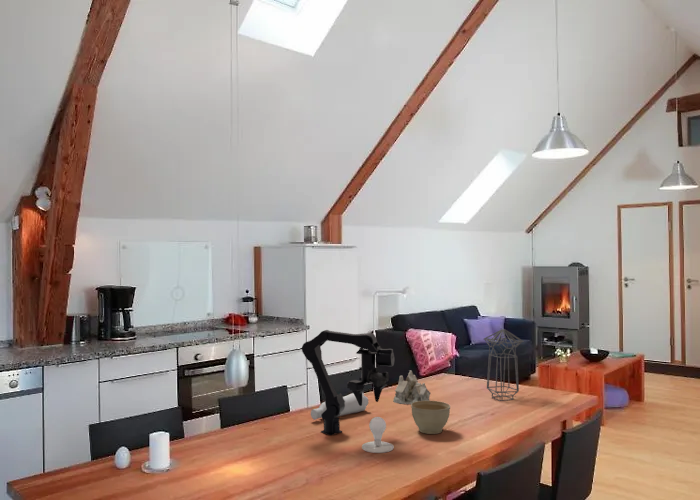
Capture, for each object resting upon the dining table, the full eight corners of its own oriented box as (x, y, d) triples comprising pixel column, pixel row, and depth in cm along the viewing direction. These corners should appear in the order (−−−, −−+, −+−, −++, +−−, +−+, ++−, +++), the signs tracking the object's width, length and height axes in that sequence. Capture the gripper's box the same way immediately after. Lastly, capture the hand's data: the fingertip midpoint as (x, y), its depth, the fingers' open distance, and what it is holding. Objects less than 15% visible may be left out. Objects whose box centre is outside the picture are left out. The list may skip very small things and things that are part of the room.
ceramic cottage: (389, 400, 303) (390, 370, 302) (416, 397, 310) (418, 368, 310) (406, 409, 289) (407, 378, 288) (434, 406, 297) (436, 375, 296)
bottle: (354, 400, 289) (305, 414, 269) (360, 386, 285) (311, 399, 265) (365, 414, 283) (316, 429, 263) (372, 400, 280) (323, 414, 259)
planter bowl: (449, 438, 240) (449, 410, 240) (409, 435, 243) (409, 408, 244) (451, 426, 256) (451, 401, 256) (413, 424, 259) (412, 399, 259)
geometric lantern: (481, 396, 310) (481, 328, 310) (508, 394, 314) (508, 327, 315) (497, 403, 295) (497, 331, 295) (525, 401, 299) (525, 330, 300)
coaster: (355, 447, 229) (355, 446, 229) (377, 440, 237) (377, 439, 237) (377, 455, 220) (377, 453, 220) (400, 447, 228) (400, 446, 228)
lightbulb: (377, 449, 224) (377, 420, 225) (366, 445, 229) (365, 416, 229) (389, 446, 229) (389, 417, 229) (378, 442, 233) (377, 413, 234)
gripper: (365, 370, 232) (366, 411, 232) (398, 364, 244) (399, 403, 244) (346, 367, 240) (346, 406, 240) (379, 361, 253) (379, 398, 252)
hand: (368, 403), depth 244 cm, fingers open, 9 cm apart
